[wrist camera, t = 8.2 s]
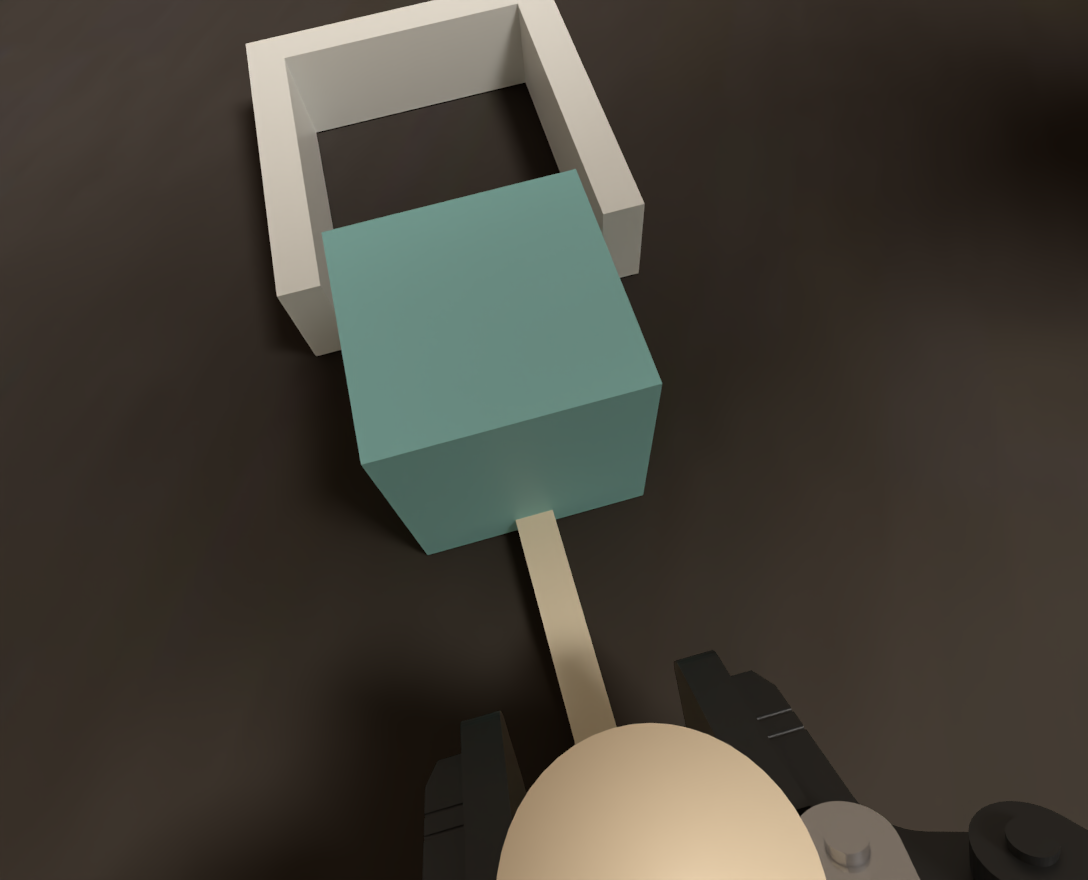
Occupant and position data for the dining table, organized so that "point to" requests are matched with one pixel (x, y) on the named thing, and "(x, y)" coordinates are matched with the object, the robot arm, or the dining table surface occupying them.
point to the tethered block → (542, 501)
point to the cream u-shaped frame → (409, 83)
